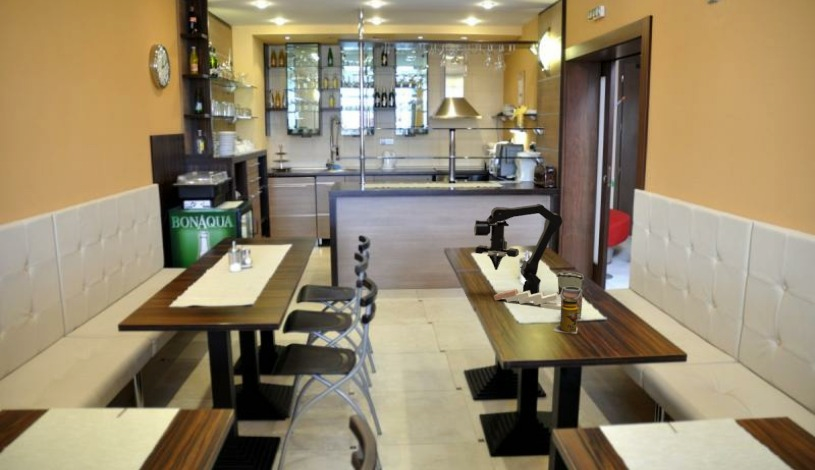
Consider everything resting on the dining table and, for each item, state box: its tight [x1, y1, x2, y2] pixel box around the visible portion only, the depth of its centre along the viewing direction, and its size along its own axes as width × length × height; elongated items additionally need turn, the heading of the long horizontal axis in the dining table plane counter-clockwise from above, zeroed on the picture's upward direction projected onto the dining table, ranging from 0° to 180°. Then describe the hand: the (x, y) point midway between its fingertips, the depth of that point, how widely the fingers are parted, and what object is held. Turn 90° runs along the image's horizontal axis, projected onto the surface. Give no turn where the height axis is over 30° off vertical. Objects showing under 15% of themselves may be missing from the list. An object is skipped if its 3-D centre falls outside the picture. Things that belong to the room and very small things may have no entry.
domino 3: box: [518, 291, 545, 305], centre depth 266 cm, size 2×4×10 cm
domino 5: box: [540, 301, 561, 311], centre depth 263 cm, size 2×4×10 cm
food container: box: [556, 271, 585, 296], centre depth 283 cm, size 12×6×10 cm, turn 65°
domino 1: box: [493, 288, 519, 301], centre depth 271 cm, size 2×4×10 cm
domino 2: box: [505, 290, 531, 303], centre depth 269 cm, size 2×4×10 cm
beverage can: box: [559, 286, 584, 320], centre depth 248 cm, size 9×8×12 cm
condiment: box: [553, 298, 578, 334], centre depth 233 cm, size 7×8×12 cm
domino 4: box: [532, 292, 560, 306], centre depth 264 cm, size 2×4×10 cm
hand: (496, 269), depth 278 cm, fingers closed
